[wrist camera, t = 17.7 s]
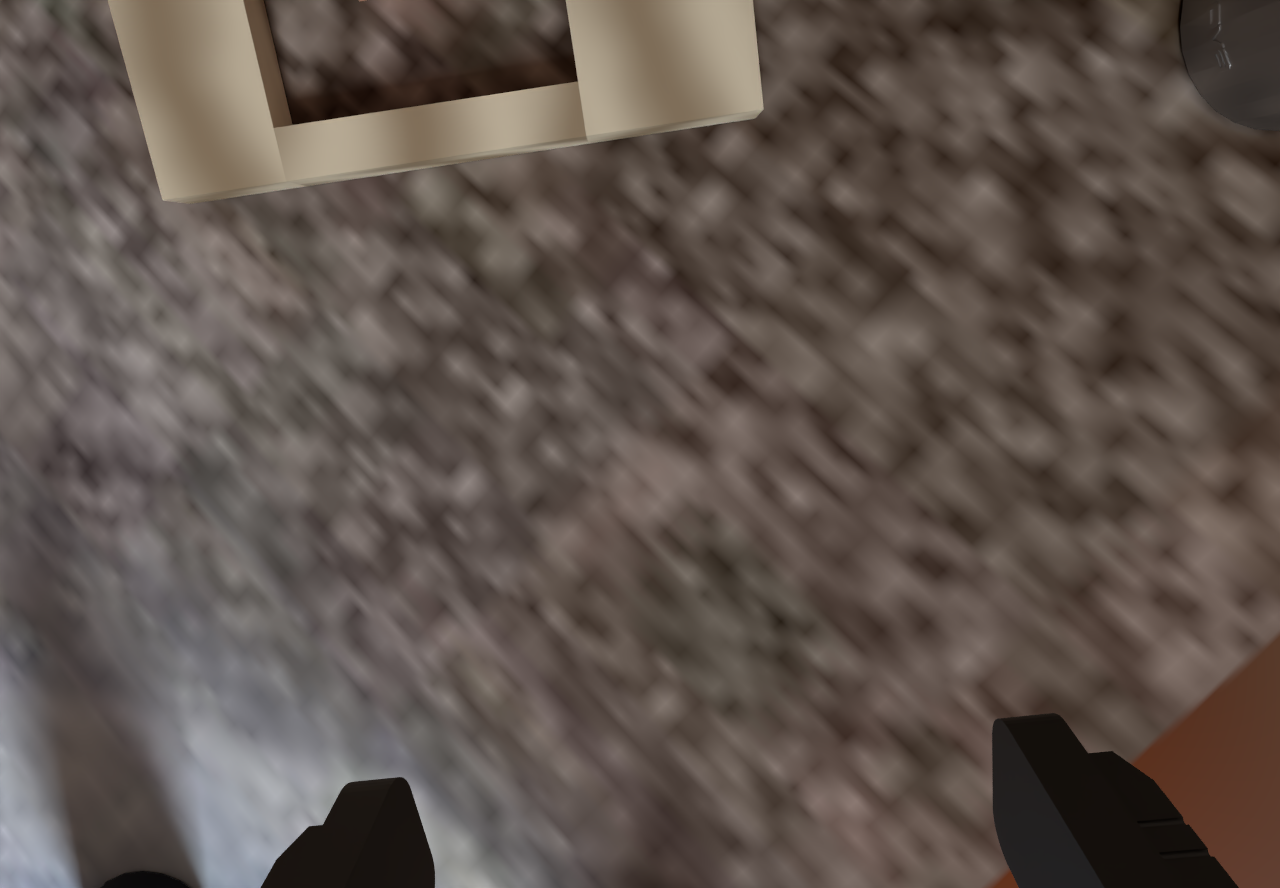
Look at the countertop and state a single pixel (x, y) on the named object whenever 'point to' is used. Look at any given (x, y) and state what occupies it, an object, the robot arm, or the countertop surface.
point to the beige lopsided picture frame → (428, 134)
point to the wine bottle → (144, 881)
